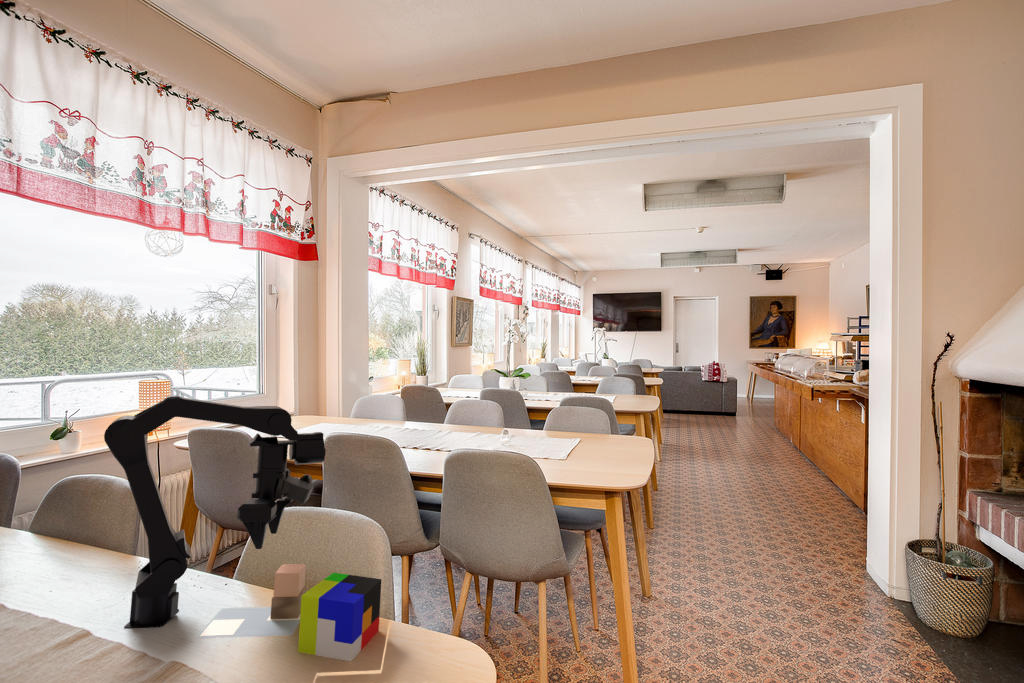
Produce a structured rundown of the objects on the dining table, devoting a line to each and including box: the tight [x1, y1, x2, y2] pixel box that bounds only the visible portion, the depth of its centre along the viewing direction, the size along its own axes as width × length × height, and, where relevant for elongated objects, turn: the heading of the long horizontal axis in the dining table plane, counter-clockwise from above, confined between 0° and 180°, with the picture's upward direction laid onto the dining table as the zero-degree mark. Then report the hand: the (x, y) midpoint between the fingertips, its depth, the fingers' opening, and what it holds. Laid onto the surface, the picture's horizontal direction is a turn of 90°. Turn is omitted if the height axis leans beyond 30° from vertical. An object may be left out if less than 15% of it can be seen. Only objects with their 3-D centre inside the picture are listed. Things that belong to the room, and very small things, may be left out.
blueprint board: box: [195, 606, 300, 639], centre depth 95 cm, size 16×12×1 cm
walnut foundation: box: [270, 585, 306, 619], centre depth 98 cm, size 5×5×4 cm
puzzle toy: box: [297, 572, 382, 662], centre depth 89 cm, size 10×10×10 cm
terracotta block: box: [273, 563, 307, 597], centre depth 99 cm, size 4×4×4 cm
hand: (266, 540), depth 105 cm, fingers open, 9 cm apart
